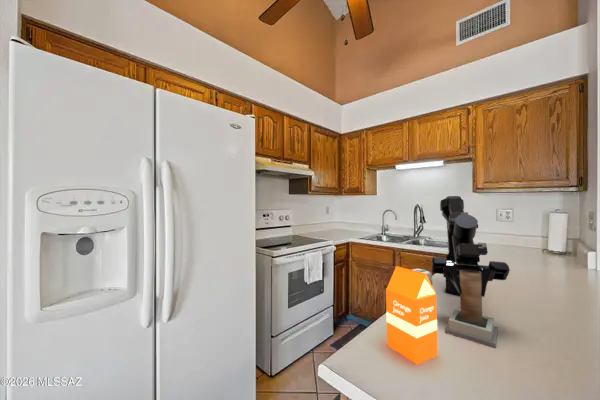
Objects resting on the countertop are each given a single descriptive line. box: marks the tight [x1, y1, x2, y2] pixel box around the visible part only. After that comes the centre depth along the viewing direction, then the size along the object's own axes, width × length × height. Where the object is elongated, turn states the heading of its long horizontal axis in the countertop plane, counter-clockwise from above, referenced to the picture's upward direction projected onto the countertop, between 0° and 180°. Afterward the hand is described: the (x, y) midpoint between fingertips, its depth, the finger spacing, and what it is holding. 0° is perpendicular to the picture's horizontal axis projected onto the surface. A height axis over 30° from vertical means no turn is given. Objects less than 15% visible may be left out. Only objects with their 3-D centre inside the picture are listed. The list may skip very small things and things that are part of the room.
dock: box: [444, 308, 499, 349], centre depth 67 cm, size 11×11×4 cm
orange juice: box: [385, 265, 439, 366], centre depth 59 cm, size 8×9×20 cm
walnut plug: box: [459, 270, 483, 322], centre depth 67 cm, size 5×5×13 cm
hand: (471, 294), depth 66 cm, fingers closed on walnut plug, 5 cm apart
